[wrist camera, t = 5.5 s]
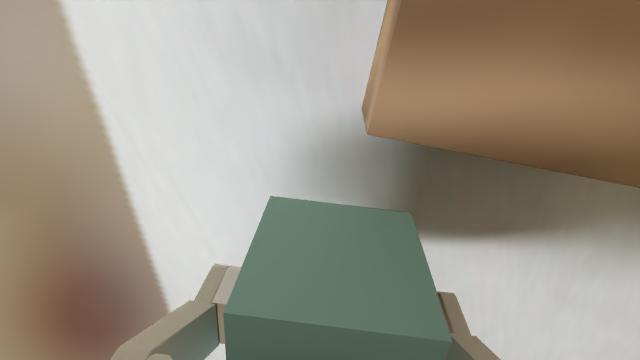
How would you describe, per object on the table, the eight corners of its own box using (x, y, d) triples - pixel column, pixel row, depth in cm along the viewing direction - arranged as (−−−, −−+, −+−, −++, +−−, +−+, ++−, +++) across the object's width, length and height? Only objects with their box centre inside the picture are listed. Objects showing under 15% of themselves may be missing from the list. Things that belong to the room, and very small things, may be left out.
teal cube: (270, 196, 11) (223, 312, 7) (411, 212, 11) (453, 341, 7) (267, 295, 14) (231, 430, 9) (384, 310, 14) (402, 453, 9)
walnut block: (436, -205, 10) (485, -325, 7) (739, -139, 10) (946, -221, 7) (361, 106, 15) (366, 134, 11) (573, 148, 15) (646, 188, 11)
